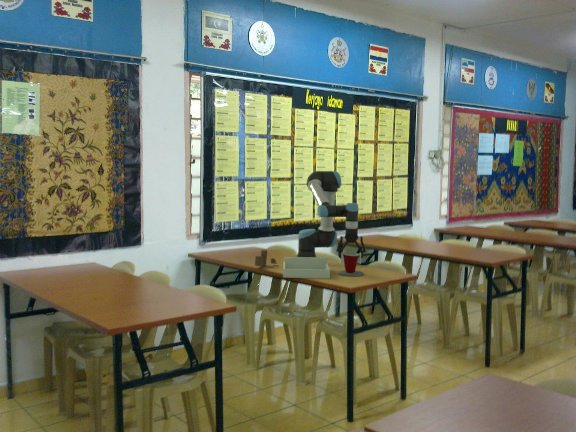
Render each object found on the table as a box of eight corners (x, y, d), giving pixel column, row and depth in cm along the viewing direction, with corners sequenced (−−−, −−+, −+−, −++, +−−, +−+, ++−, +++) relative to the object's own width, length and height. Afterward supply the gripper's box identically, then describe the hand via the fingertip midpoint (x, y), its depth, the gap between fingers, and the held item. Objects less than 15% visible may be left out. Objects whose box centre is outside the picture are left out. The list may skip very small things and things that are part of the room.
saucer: (336, 271, 383) (336, 270, 383) (361, 271, 383) (361, 270, 383) (338, 276, 367) (338, 274, 367) (365, 276, 367) (365, 275, 367)
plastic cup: (355, 274, 368) (355, 254, 367) (339, 272, 373) (339, 253, 372) (362, 271, 377) (362, 252, 376) (346, 269, 382) (346, 251, 381)
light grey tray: (283, 269, 389) (283, 257, 388) (326, 269, 389) (326, 257, 388) (283, 277, 361) (283, 264, 360) (329, 278, 361) (330, 264, 361)
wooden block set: (260, 269, 389) (261, 253, 388) (249, 266, 394) (251, 251, 393) (276, 265, 404) (278, 250, 403) (266, 263, 409) (267, 248, 408)
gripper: (333, 228, 369) (332, 263, 371) (371, 228, 369) (370, 264, 371) (332, 227, 376) (331, 261, 378) (369, 227, 377) (368, 262, 378)
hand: (350, 263), depth 375 cm, fingers closed on plastic cup, 11 cm apart
